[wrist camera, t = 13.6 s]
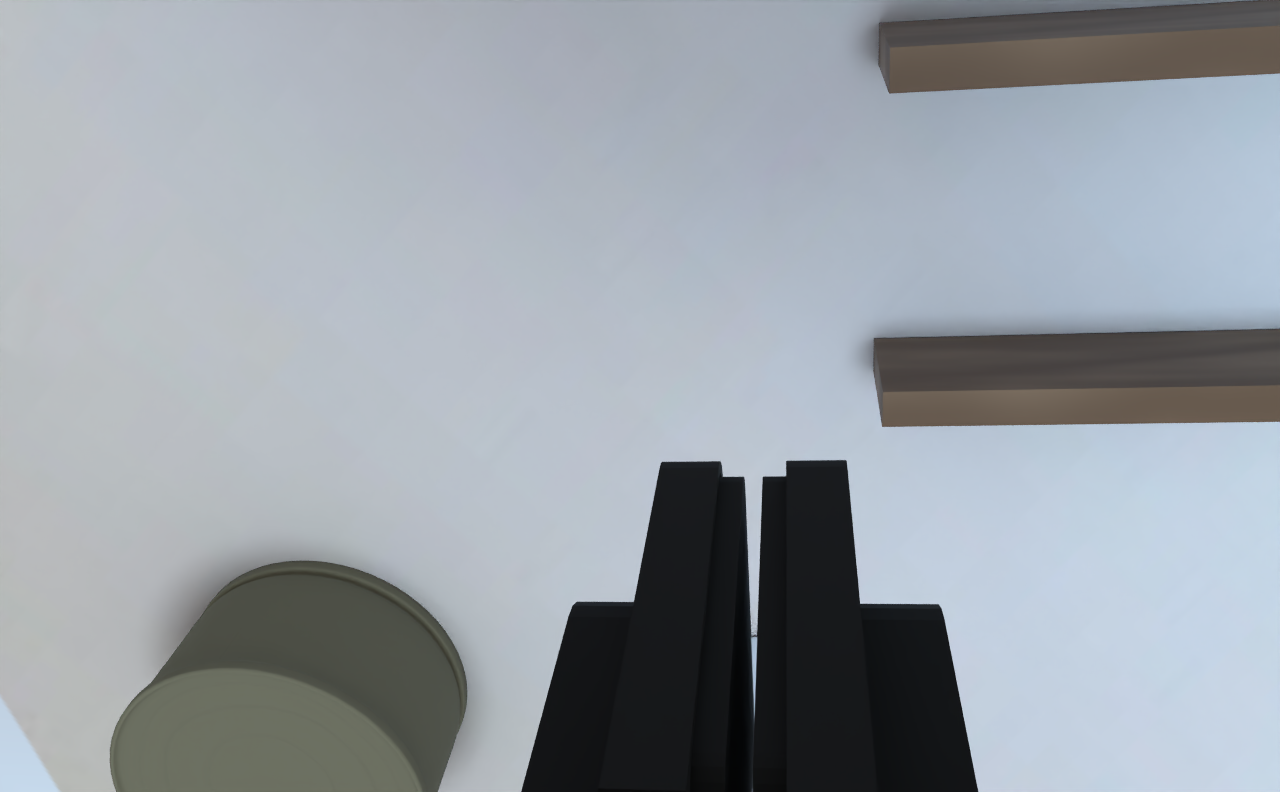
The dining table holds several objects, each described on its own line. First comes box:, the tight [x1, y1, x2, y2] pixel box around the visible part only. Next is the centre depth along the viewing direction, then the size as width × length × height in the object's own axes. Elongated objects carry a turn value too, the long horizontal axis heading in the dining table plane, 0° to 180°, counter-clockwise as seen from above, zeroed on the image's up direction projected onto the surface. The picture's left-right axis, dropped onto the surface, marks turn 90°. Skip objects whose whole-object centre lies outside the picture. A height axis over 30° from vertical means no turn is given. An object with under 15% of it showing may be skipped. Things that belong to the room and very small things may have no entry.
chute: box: [873, 0, 1280, 427], centre depth 33 cm, size 11×18×4 cm, turn 94°
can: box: [110, 561, 467, 792], centre depth 45 cm, size 12×12×7 cm
